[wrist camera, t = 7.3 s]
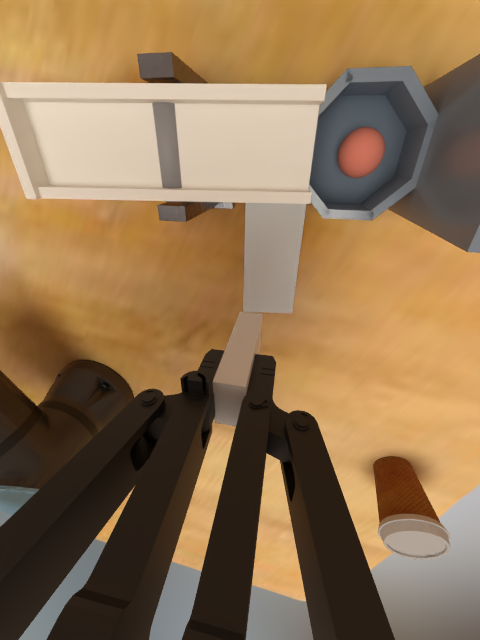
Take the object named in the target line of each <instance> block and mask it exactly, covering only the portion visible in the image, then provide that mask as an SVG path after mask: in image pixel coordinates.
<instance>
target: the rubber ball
mask: <svg viewBox="0 0 480 640" xmlns="http://www.w3.org/2000/svg"><path fill="white" fill-rule="evenodd" d="M384 153H385V141H384V138H383V136H382V134H381V133H380V132H379V131H378V130H376V129H374V128H371V127H361V128H358V129H356V130H354V131H352V132H351V133H350V134H349V135H347V136H346V138H345V139H344V140H343V142H342V143H341V145H340V148H339V151H338V165H339V167H340V169H341V171H342V172H343V173H344V174H345V175H347V176H349V177H352V178H361V177H364V176H367V175H369V174H370V173H372V172H373V171H374V170H375V169H376V168H377V167H378V166H379V164H380V163H381V161H382V159H383V156H384Z"/></svg>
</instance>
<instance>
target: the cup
mask: <svg viewBox="0 0 480 640" xmlns="http://www.w3.org/2000/svg"><path fill="white" fill-rule="evenodd" d="M361 127H371V128H374V129H376V130H378V131H379V132H380V133H381V134H382V136H383V138H384V141H385V153H384V156H383V159H382V161H381V163H380V164H379V166H378V167H377V168H376V169H375V170H374V171H373V172H372V173H370V174H369V175H367V176H364V177H361V178H352V177H349V176H347V175H345V174H344V173H343V172H342V171H341V169H340V167H339V165H338V151H339V148H340V145H341V143H342V142H343V140H344V139H345V138H346V136H347V135H349V134H350V133H351V132H352V131H354V130H356V129H358V128H361ZM308 191H310V192H312V194H311V201H310V202H311V203H312V205H313V206H314V207H315V208H316V210H317V211H318V212H319V214H320V215H321V216H322V217H323V218H331V219H352V220H373V219H374V218H376V217H377V216H378V215H380V214H381V213H382V212H384V211H385V210H386V209H388V208H389V210H391V211H393V212H394V213H396V214H398V215H400V216H402V217H404V218H405V219H407V220H409V221H411V222H413V223H415V224H417V225H418V226H420V227H422V228H424V229H426V230H428V231H429V232H431V233H433V234H435V235H437V236H439V237H441V238H442V239H444V240H446V241H448V242H450V243H452V244H453V245H455V246H457V247H459V248H461V249H463V250H465V251H466V252H476V253H480V54H479V55H477V56H476V57H474V58H472V59H471V60H469V61H467V62H466V63H464V64H462V65H461V66H459V67H457V68H456V69H454V70H452V71H451V72H449V73H447V74H446V75H444V76H442V77H440V78H439V79H437V80H435V81H434V82H432V83H430V84H429V85H427V86H425V87H424V88H423V86H422V84H421V82H420V81H419V79H418V77H417V75H416V74H415V72H414V70H413V68H412V66H401V67H374V68H348V69H347V70H346V71H345V72H344V73H343V74H342V75H341V76H340V77H339V78H338V80H337V81H336V82H335V83H334V84H333V85H332V86H331V87H330V88H329V89H328V90H327V92H326V93H325V100H324V101H323V102H322V103H321V104H320V105H319V113H318V120H317V128H316V135H315V143H314V151H313V158H312V166H311V173H310V181H309V189H308Z"/></svg>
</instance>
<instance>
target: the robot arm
mask: <svg viewBox="0 0 480 640" xmlns="http://www.w3.org/2000/svg"><path fill="white" fill-rule="evenodd" d="M262 318H263V314H259V313H249V312H240V313H239V315H238V318H237V320H236V323H235V325H234V328H233V331H232V333H231V336H230V338H229V341H228V344H227V346H226V349H225V351H222V350H214V349H211V350H210V351H209V352H208V353H206V354H205V356H204V359H203V361H202V363H201V365H200V367H199V369H198V371H192V372H188V373H186V374H185V375H183V376H182V377H181V379H180V380H181V387H182V393H179V394H175V395H167V396H164V395H163V393H162V392H161V391H160V390H157V389H148V390H145V391H143V392H141V393H140V394H138V395H137V396H136V397H135V398H134V399H133V394H132V391H131V389H130V388H129V386H128V384H127V383H126V382H125V381H124V380H123V379H122V378H121V377H120V376H119V375H118V374H117V373H116V372H114V371H113V370H111V369H110V368H108V367H106V366H104V365H102V364H99V363H97V362H93V361H88V360H78V361H74V362H71V363H70V364H68V365H67V366H66V367H65V368H64V369H63V370H62V371H61V372H60V373H59V374H58V375H57V377H56V380H55V382H54V384H53V385H52V386H51V388H50V390H49V391H48V393H47V395H46V397H45V398H44V400H43V401H42V402H41V403H40V404H39V405H38V406H36V405H35V403H34V402H32V401H31V400H30V399H29V398H28V397H27V396H26V395H25V394H24V393H23V392H22V391H21V390H20V389H19V388H18V387H17V386H16V385H15V384H14V383H13V382H12V381H11V380H10V379H9V378H8V377H7V376H6V375H5V374H4V373H3V372H2V371H1V370H0V524H3V525H2V526H1V527H0V640H18V639H19V638H20V637H21V635H22V634H23V633H24V631H25V630H26V629H27V628H28V626H29V625H30V623H31V622H32V621H33V620H34V618H35V617H36V615H37V614H38V613H39V612H40V610H41V609H42V608H43V606H44V605H45V604H46V602H47V601H48V600H49V598H50V597H51V596H52V594H53V593H54V592H55V590H56V589H57V588H58V587H59V585H60V584H61V583H62V581H63V580H64V578H65V577H66V576H67V574H68V573H69V572H70V571H71V569H72V568H73V567H74V565H75V564H76V563H77V561H78V560H79V559H80V557H81V556H82V555H83V553H84V552H85V551H86V550H87V548H88V547H89V545H90V544H91V543H92V541H93V540H94V539H95V538H96V536H97V535H98V534H99V532H100V531H101V530H102V528H103V527H104V526H105V524H106V523H107V522H108V520H109V519H110V518H111V516H112V515H113V514H114V512H115V511H116V510H117V509H118V507H119V506H120V505H121V503H122V502H123V501H124V499H125V498H126V497H127V495H128V494H129V493H130V491H131V490H132V489H133V487H134V486H135V487H134V489H133V491H132V493H131V495H130V497H129V499H128V501H127V503H126V505H125V507H124V509H123V511H122V513H121V515H120V517H119V519H118V521H117V523H116V525H115V527H114V529H113V531H112V533H111V535H110V537H109V539H108V541H107V543H106V545H105V548H104V549H103V552H102V554H101V555H100V558H99V560H98V562H97V564H96V566H95V568H94V570H93V572H92V574H91V576H90V578H89V579H88V581H87V583H86V584H85V585H84V587H83V588H82V589H81V590H79V591H78V592H77V593H75V594H74V595H73V596H72V597H71V599H70V600H69V601H68V602H67V604H66V605H65V607H64V608H63V610H62V612H61V613H60V615H59V617H58V619H57V621H56V623H55V625H54V626H53V628H52V630H51V632H50V634H49V636H48V638H47V640H149V635H150V630H151V625H152V622H153V618H154V615H155V612H156V609H157V606H158V602H159V599H160V596H161V593H162V589H163V586H164V583H165V580H166V577H167V574H168V570H169V567H170V564H171V561H172V558H173V555H174V551H175V548H176V545H177V542H178V539H179V536H180V532H181V529H182V526H183V523H184V520H185V517H186V513H187V510H188V507H189V504H190V501H191V497H192V494H193V491H194V488H195V485H196V482H197V478H198V475H199V472H200V469H201V466H202V462H203V459H204V456H205V453H206V450H207V447H208V443H209V440H210V437H211V434H212V423H213V419H214V416H215V423H220V424H226V425H232V426H236V429H235V433H234V437H233V442H232V446H231V450H230V454H229V458H228V463H227V467H226V471H225V475H224V480H223V484H222V488H221V492H220V496H219V501H218V505H217V509H216V513H215V518H214V522H213V526H212V530H211V534H210V539H209V543H208V547H207V551H206V555H205V560H204V564H203V568H202V572H201V577H200V581H199V585H198V590H197V593H196V598H195V602H194V606H193V610H192V614H191V617H190V620H189V622H188V624H187V626H186V629H185V632H184V635H183V638H182V640H246V631H247V622H248V613H249V604H250V595H251V586H252V577H253V568H254V559H255V550H256V541H257V532H258V523H259V514H260V505H261V496H262V487H263V478H264V469H265V460H266V453H267V454H269V455H271V456H273V457H275V458H277V459H279V460H280V463H281V469H282V474H283V479H284V485H285V490H286V495H287V501H288V506H289V511H290V517H291V522H292V527H293V532H294V538H295V543H296V548H297V554H298V559H299V564H300V570H301V575H302V580H303V586H304V591H305V596H306V602H307V607H308V612H309V618H310V623H311V628H312V633H313V639H314V640H395V638H394V636H393V633H392V630H391V627H390V625H389V622H388V619H387V616H386V613H385V611H384V608H383V605H382V602H381V600H380V597H379V594H378V591H377V588H376V585H375V583H374V580H373V577H372V574H371V571H370V569H369V566H368V563H367V560H366V557H365V555H364V552H363V549H362V546H361V544H360V541H359V538H358V535H357V532H356V530H355V527H354V524H353V521H352V518H351V516H350V513H349V510H348V507H347V504H346V502H345V499H344V496H343V493H342V490H341V488H340V485H339V482H338V479H337V476H336V474H335V471H334V468H333V465H332V463H331V460H330V457H329V454H328V451H327V449H326V446H325V443H324V440H323V437H322V435H321V432H320V429H319V426H318V423H317V421H316V420H315V418H314V417H313V416H312V415H311V414H309V413H307V412H305V411H299V410H297V411H292V412H291V413H287V412H285V411H283V410H281V409H279V408H278V407H277V406H276V405H275V403H274V402H273V398H272V396H273V387H274V377H275V368H276V362H275V360H274V357H273V356H267V355H259V354H260V349H261V334H262Z"/></svg>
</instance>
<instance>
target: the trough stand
mask: <svg viewBox="0 0 480 640" xmlns="http://www.w3.org/2000/svg"><path fill="white" fill-rule="evenodd" d="M137 56H138V64H139V71H140V78H141V79H143V80H145V81H147V82H149V83H187V84H208V83H207V82H206V81H205V80H204V79H203V78H201V77H200V76H199V75H198V74H197V73H195V72H194V71H193V70H192V69H191V68H190V67H188V66H187V65H186V64H185V63H184V62H183V61H181V60H180V59H179V58H178V57H177V56H175V55H174V54H173V53H172V52H166V53H146V54H137ZM211 208H228V209H233V208H234V202H190V201H183V202H166V203H163V204H160V205H158V212H159V220H163V221H181V222H187V221H189V220H190V219H192V218H194V217H196V216H198V215H200V214H202V213H204V212H206V211H207V210H209V209H211Z"/></svg>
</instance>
